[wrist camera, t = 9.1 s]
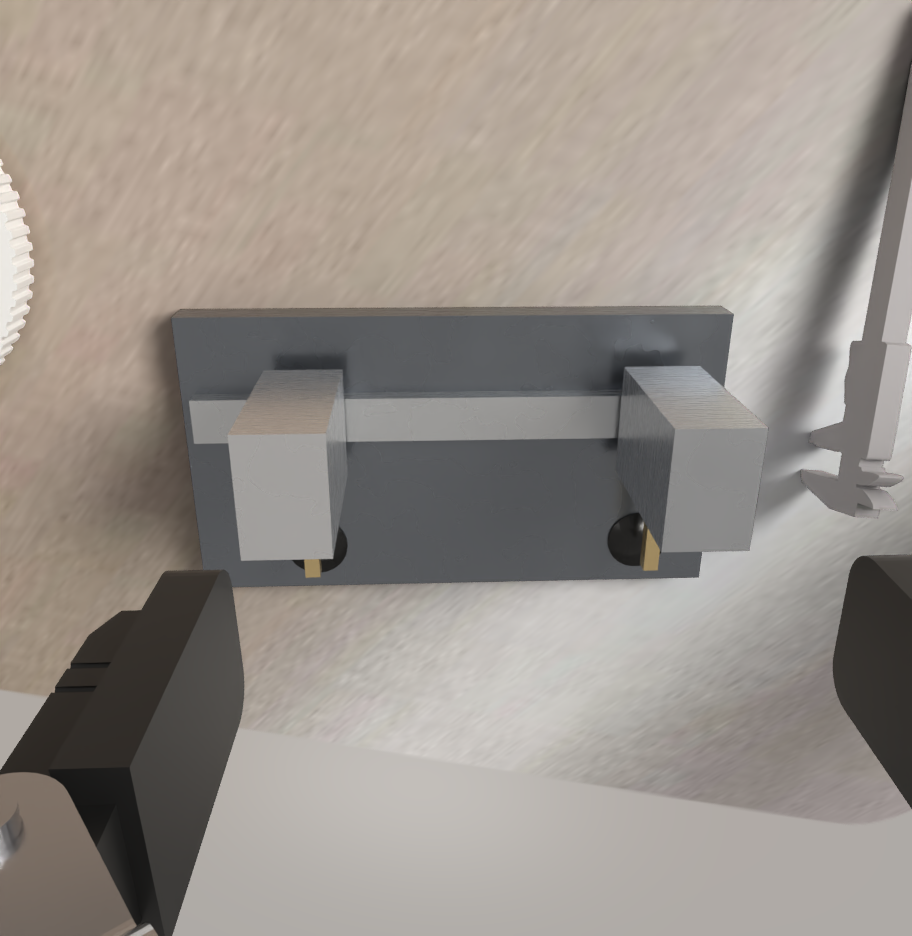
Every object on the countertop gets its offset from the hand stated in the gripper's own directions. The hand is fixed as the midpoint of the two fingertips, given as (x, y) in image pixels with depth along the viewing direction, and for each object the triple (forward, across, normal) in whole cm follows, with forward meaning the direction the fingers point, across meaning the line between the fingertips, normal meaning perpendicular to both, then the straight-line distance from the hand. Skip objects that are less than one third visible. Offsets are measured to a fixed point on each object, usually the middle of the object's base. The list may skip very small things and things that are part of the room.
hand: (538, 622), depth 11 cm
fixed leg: (+23, -7, +8) cm, 25 cm away
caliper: (+26, -16, 0) cm, 31 cm away
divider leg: (+22, +7, +7) cm, 24 cm away
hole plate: (+25, +1, +7) cm, 26 cm away
